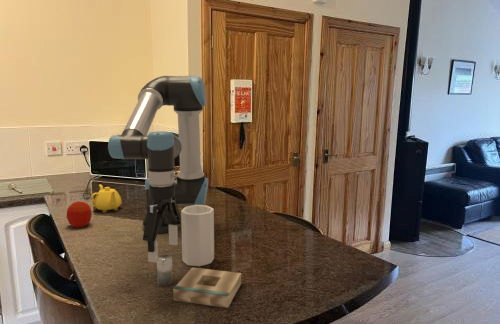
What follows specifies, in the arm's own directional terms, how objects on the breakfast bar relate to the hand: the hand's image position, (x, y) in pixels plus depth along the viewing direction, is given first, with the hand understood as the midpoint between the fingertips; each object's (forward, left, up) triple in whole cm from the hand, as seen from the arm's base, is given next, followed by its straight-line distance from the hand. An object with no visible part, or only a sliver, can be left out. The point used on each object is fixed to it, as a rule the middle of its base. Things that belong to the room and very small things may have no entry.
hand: (163, 252), depth 116 cm
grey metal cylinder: (0, 0, -10) cm, 10 cm away
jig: (+15, -2, -10) cm, 18 cm away
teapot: (-62, +62, -10) cm, 89 cm away
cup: (+4, +18, -10) cm, 21 cm away
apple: (-59, +38, -10) cm, 71 cm away
